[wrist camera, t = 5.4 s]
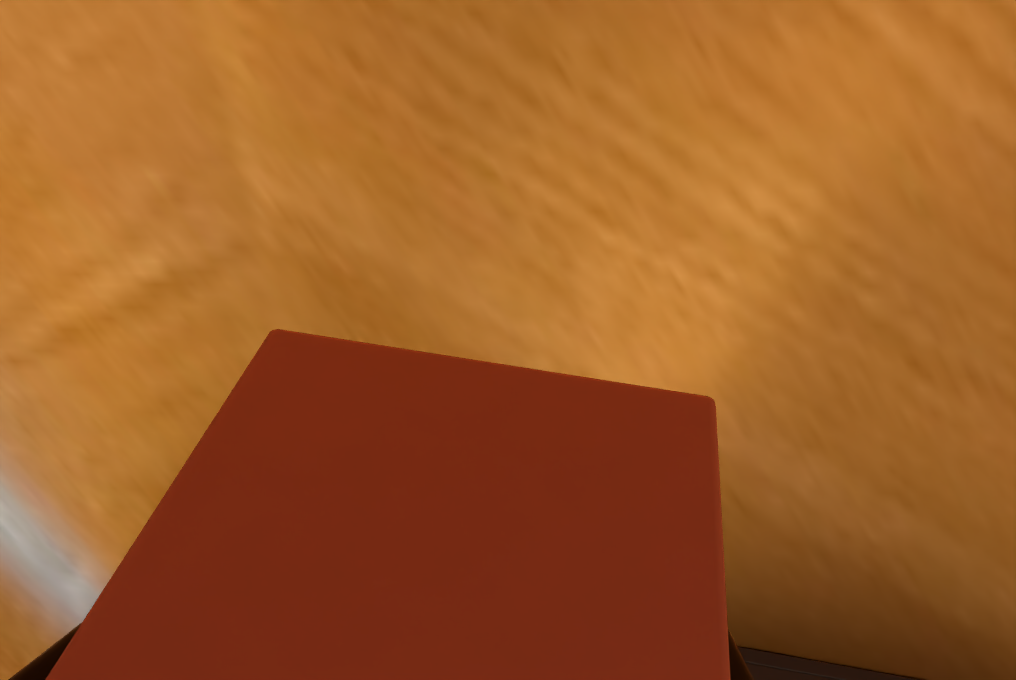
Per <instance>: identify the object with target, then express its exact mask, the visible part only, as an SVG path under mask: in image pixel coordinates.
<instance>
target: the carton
mask: <svg viewBox="0 0 1016 680" xmlns="http://www.w3.org/2000/svg"><path fill="white" fill-rule="evenodd" d="M738 649H739V651H740V653H741V655H742V657H743V659H744V662H745V664H746V666H747V668H748V670H749V672H750V674H751V676H752V678H753V680H918V679H912V678H907V677H901V676H896V675H890V674H885V673H879V672H874V671H868V670H863V669H857V668H852V667H846V666H841V665H835V664H830V663H824V662H819V661H813V660H808V659H802V658H797V657H791V656H786V655H780V654H775V653H769V652H764V651H758V650H753V649H747V648H742V647H738Z"/></svg>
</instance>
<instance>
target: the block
mask: <svg viewBox="0 0 1016 680" xmlns="http://www.w3.org/2000/svg"><path fill="white" fill-rule="evenodd" d="M45 680H730V661H729V643H728V624H727V605H726V587H725V568H724V550H723V531H722V513H721V494H720V475H719V457H718V438H717V420H716V406H715V402H714V400H713V399H712V398H710V397H708V396H701V395H695V394H689V393H682V392H676V391H670V390H663V389H657V388H650V387H644V386H638V385H631V384H625V383H619V382H612V381H606V380H599V379H593V378H587V377H580V376H574V375H567V374H561V373H555V372H548V371H542V370H536V369H529V368H523V367H516V366H510V365H504V364H497V363H491V362H484V361H478V360H472V359H465V358H459V357H453V356H446V355H440V354H433V353H427V352H421V351H414V350H408V349H401V348H395V347H389V346H382V345H376V344H370V343H363V342H357V341H350V340H344V339H338V338H331V337H325V336H318V335H312V334H306V333H299V332H293V331H287V330H280V329H277V330H272V331H271V332H270V333H269V334H268V336H267V337H266V339H265V340H264V342H263V343H262V345H261V347H260V348H259V350H258V351H257V353H256V354H255V356H254V357H253V359H252V361H251V362H250V364H249V365H248V367H247V368H246V370H245V371H244V373H243V374H242V376H241V378H240V379H239V381H238V382H237V384H236V385H235V387H234V388H233V390H232V391H231V393H230V395H229V396H228V398H227V399H226V401H225V402H224V404H223V405H222V407H221V409H220V410H219V412H218V413H217V415H216V416H215V418H214V419H213V421H212V422H211V424H210V426H209V427H208V429H207V430H206V432H205V433H204V435H203V436H202V438H201V439H200V441H199V443H198V444H197V446H196V447H195V449H194V450H193V452H192V453H191V455H190V457H189V458H188V460H187V461H186V463H185V464H184V466H183V467H182V469H181V470H180V472H179V474H178V475H177V477H176V478H175V480H174V481H173V483H172V484H171V486H170V487H169V489H168V491H167V492H166V494H165V495H164V497H163V498H162V500H161V501H160V503H159V505H158V506H157V508H156V509H155V511H154V512H153V514H152V515H151V517H150V518H149V520H148V522H147V523H146V525H145V526H144V528H143V529H142V531H141V532H140V534H139V535H138V537H137V539H136V540H135V542H134V543H133V545H132V546H131V548H130V549H129V551H128V553H127V554H126V556H125V557H124V559H123V560H122V562H121V563H120V565H119V566H118V568H117V570H116V571H115V573H114V574H113V576H112V577H111V579H110V580H109V582H108V583H107V585H106V587H105V588H104V590H103V591H102V593H101V594H100V596H99V597H98V599H97V601H96V602H95V604H94V605H93V607H92V608H91V610H90V611H89V613H88V614H87V616H86V618H85V619H84V621H83V622H82V624H81V625H80V627H79V628H78V630H77V631H76V633H75V635H74V636H73V638H72V639H71V641H70V642H69V644H68V645H67V647H66V649H65V650H64V652H63V653H62V655H61V656H60V658H59V659H58V661H57V662H56V664H55V666H54V667H53V669H52V670H51V672H50V673H49V675H48V676H47V678H46V679H45Z"/></svg>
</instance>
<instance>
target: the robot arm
mask: <svg viewBox="0 0 1016 680" xmlns="http://www.w3.org/2000/svg"><path fill="white" fill-rule="evenodd" d="M81 624H82V623H81ZM81 624H80V625H81ZM80 625H78V626H77V627H76V628H74V629H73V630H72V631H71V632H69V633H68V634H67V635H65V636H64V637H63V638H61V639H60V640H59V641H58V642H56V643H55V644H54V645H52V646H51V647H50V648H49V649H47V650H46V651H45V652H43V653H42V654H41V655H40V656H38V657H37V658H36V659H34V660H33V661H32V662H30V663H29V664H28V665H27V666H25V667H24V668H23V669H21V670H20V671H19V672H18V673H16V674H15V675H14V676H12V677H11V678H10V679H9V680H45V679H46V678H47V676H48V675H49V673H50V672H51V670H52V669H53V667H54V666H55V664H56V662H57V661H58V659H59V658H60V656H61V655H62V653H63V652H64V650H65V649H66V647H67V645H68V644H69V642H70V641H71V639H72V638H73V636H74V635H75V633H76V631H77V630H78V628H79V627H80ZM728 643H729V661H730V680H753V678H752V676H751V674H750V672H749V670H748V668H747V666H746V664H745V662H744V659H743V657H742V655H741V653H740V651H739V649H738V647H737V645H736V643H735V641H734V639H733V637H732V635H731V633H730V631H729V629H728Z"/></svg>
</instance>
